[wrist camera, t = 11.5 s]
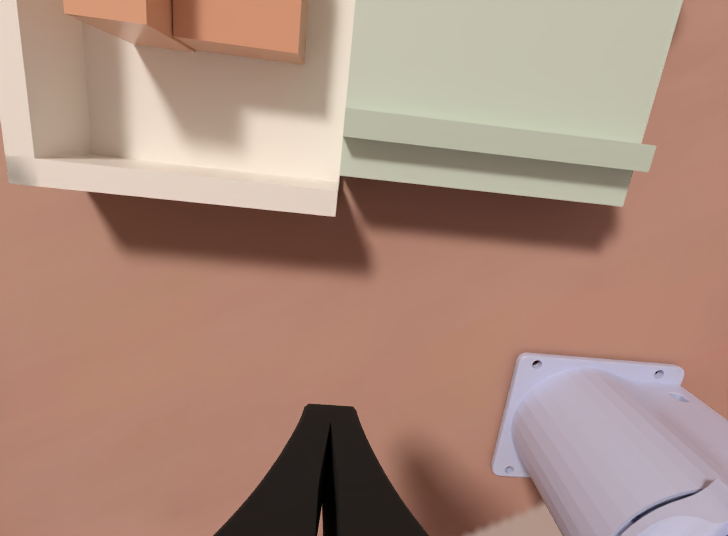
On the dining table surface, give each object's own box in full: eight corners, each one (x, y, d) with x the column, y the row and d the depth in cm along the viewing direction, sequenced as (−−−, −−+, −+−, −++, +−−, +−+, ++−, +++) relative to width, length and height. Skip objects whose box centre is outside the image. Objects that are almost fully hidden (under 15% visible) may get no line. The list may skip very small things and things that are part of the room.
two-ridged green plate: (669, -128, 17) (762, -204, 13) (583, 197, 20) (636, 210, 17) (372, -180, 16) (380, -278, 12) (340, 170, 20) (339, 177, 16)
